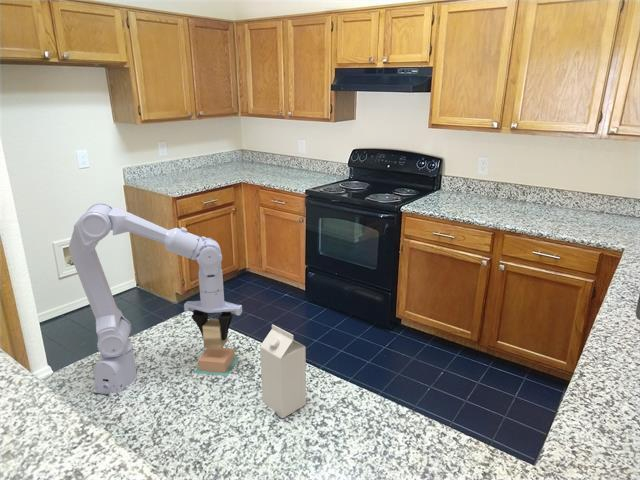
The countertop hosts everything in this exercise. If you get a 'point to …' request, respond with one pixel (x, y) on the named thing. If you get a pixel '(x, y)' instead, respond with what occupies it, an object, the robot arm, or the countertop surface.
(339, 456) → the countertop surface
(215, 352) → the base block
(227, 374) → the board
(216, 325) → the maple block
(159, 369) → the countertop surface
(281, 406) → the milk carton
